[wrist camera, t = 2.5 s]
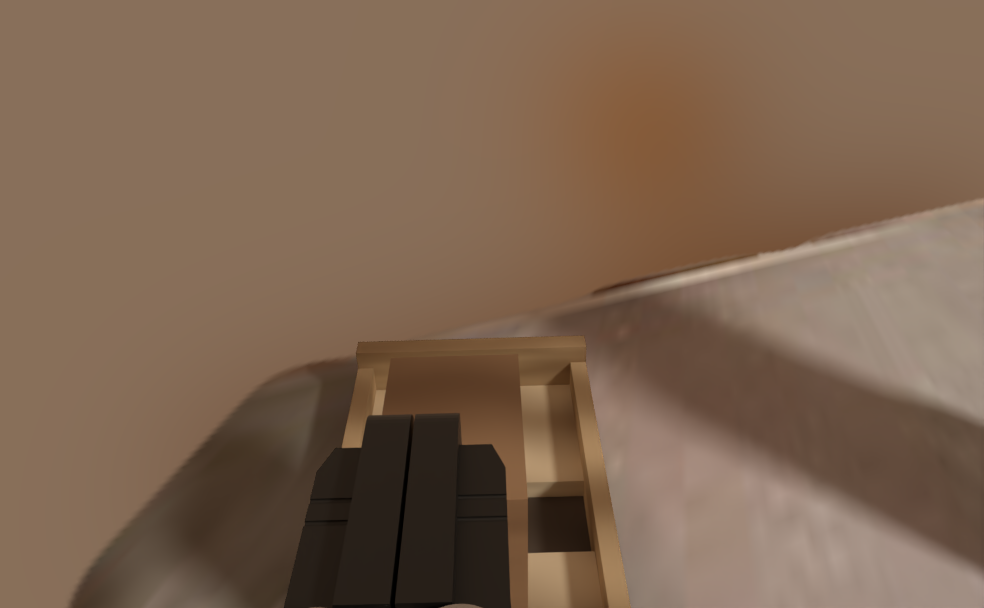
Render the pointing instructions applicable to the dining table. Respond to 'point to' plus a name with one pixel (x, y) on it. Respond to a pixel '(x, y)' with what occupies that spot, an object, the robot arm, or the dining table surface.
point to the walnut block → (475, 426)
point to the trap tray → (535, 461)
